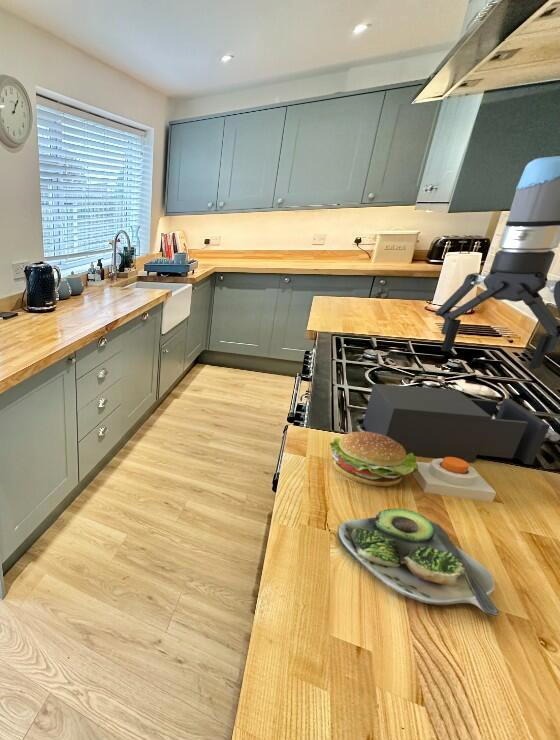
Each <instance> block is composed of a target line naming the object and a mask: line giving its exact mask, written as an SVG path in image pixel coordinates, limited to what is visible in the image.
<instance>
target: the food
mask: <svg viewBox="0 0 560 740" xmlns="http://www.w3.org/2000/svg"><path fill="white" fill-rule="evenodd" d="M329 445H330V448H329V451H330V453H332V454H331V455H332V464H333V467H334V468H335V469H336V471H338V472H339V473H340V474H342V475H343V476H345V477H347V478H349V479H351V480H353V481H355V482H358V483H361V484H365V485H369V486H375V487H377V486H378V487H391V486H396V485H398V484H400V483H401V481H402V480H403V476H406V475H408V474H411V473H413V472H416V471H418V466H417V462H418V461H417V457H416V456H414V455H413V453H410V454H408V455H406V451H405V449H404V448H403V446H402V445H400V444H399V443H397V442H396V441H394V440H393V439H391V438H389V437H386V436H384V435H381V434H377V433H372V432H368V431H363V430H362V431H351V432H349V433H346V434H344V435H342V436H341V438H340V437H334V438H333V441H332V442H329Z"/></svg>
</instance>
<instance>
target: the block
mask: <svg viewBox="0 0 560 740" xmlns="http://www.w3.org/2000/svg"><path fill="white" fill-rule="evenodd" d="M442 462H443V459H442V458H439V459H433V458H432V460H431V461H430V462H423V461H417V466H418V471H416V472H413V473H410V474H411V476H412V477H413V479H414V480H415V482H416V483H417V484H418V485H419V487H420V488H421V490H422V491H423V492H424V493H426V494H433V495H440V496H447V497H454V498H461V499H467V500H475V501H481V502H487V503H488V502H489V503H493V502H494V499H495V497H496V494H497V491H496V490H495V489H494V488H493V487H492V486H491V485H490V484H489V483H488V482H487V480H485V479H484V478H483V477H482V476H481V475H480V474H479V472H478V471H477V470H476V469H475V468H474V467H472V466H470V465H469V468H468V470H467V473H466V474H456V473H452V472H449V471H447V470H445V469H443V468H442V467H441V464H442Z"/></svg>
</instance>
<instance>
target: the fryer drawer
mask: <svg viewBox="0 0 560 740" xmlns="http://www.w3.org/2000/svg"><path fill="white" fill-rule="evenodd" d="M467 398H468V399H470V400H471V401H472V402H473V403H475V404H476V405H477V406H478V407H480V408H481V409H482V410H484V411H485V412H486V413H487V414H489V415H490V416H491V417H492V418H491V420H490V423H489V425H488V428H487V430H486V433H485V436H484V438H483V441H482V443H481V446H480V448H479V451H478V453H477V456H485V457H486V456H487V457H496V458H504V459H514V456H515V457H516V458H517V459H518V460H519V461H521V462H522V463H523V464H524V465H533V463H534V462H535V459H536V458H537V455H538V453H539V451H540V449H541V446H542V445H543V442H544V440H545V438H547V439H548V440H549V441H552V442H557V441H559V440H560V434H559V433H558V432H556V431H554V429H551V425H550V424H549V423H547V422H546V421H544V420H542V419H541V417H538V416H537V415H535V414H534V413H532V412H531V411H529V410H528V409H526V407H523V406H522V405H521V404H519V403H518V402H516V401H515V400H513V399H512V398H505V397H503V399H502V402H501V403H500V406H499V409H498V411H497V414H496V416H495V418H493V417H494V414H495V412H496V409H497V406H498V404H499V401H498V400H495V399H482V398H471V397H470V398H469V397H467Z"/></svg>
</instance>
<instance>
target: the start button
mask: <svg viewBox="0 0 560 740" xmlns="http://www.w3.org/2000/svg"><path fill="white" fill-rule="evenodd" d="M469 466H470V463H467V462H466V461H464V460H462V459H459V458H455V457H445V458H444V459H443V462H442V464H441V467H442V468H443V469H445V470H447V471H449V472H452V473H456V474H466V473H467V470H468V468H469Z"/></svg>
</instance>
